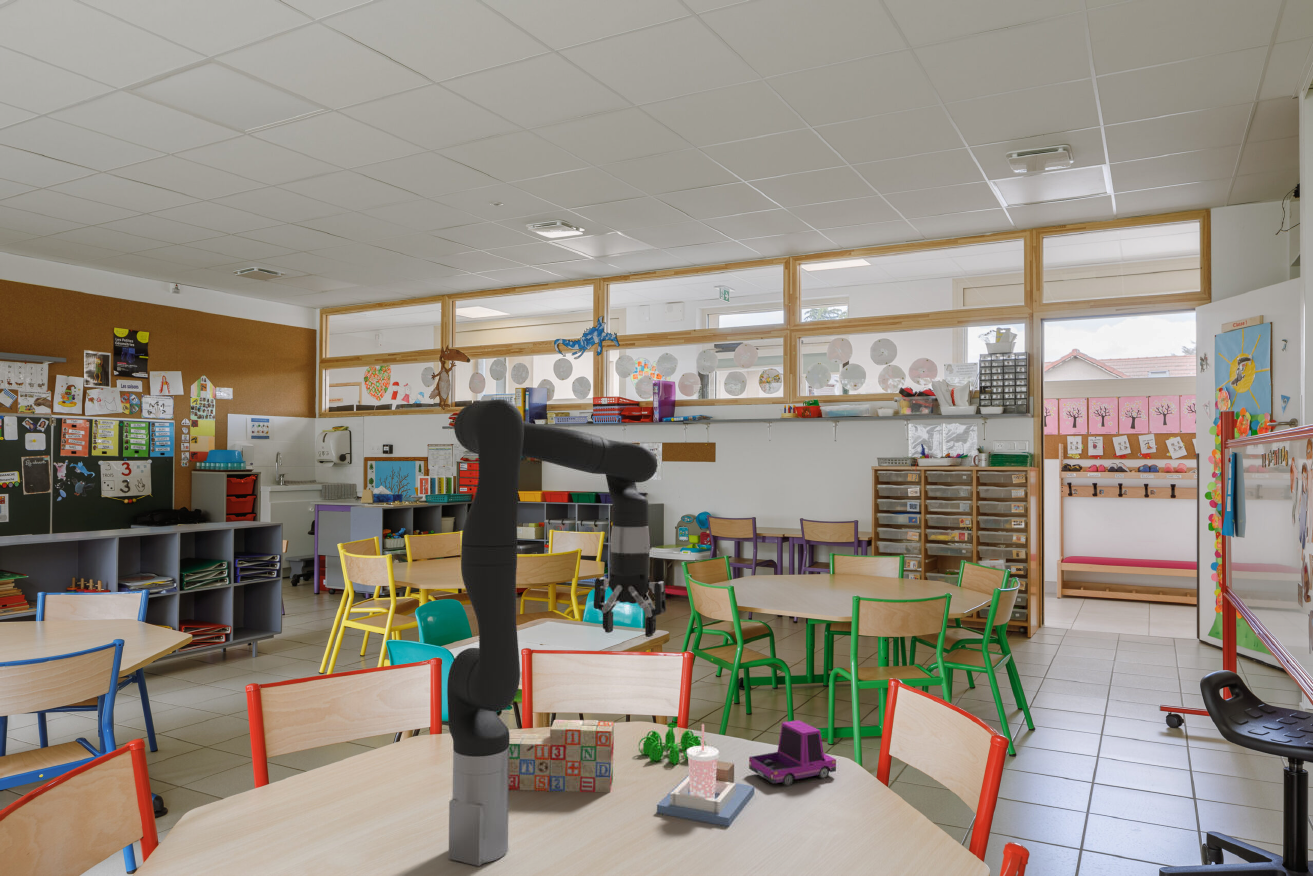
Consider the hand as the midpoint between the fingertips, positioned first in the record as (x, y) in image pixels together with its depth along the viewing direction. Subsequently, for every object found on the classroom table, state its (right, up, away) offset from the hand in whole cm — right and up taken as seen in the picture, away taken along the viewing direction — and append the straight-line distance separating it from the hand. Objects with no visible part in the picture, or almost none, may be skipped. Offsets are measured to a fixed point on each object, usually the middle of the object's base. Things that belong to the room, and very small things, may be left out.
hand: (629, 634), depth 161 cm
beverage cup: (+14, -31, -3) cm, 34 cm away
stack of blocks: (-14, -33, +8) cm, 36 cm away
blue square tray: (+15, -32, -1) cm, 35 cm away
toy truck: (+34, -33, +14) cm, 49 cm away
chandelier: (+9, -33, +26) cm, 43 cm away
